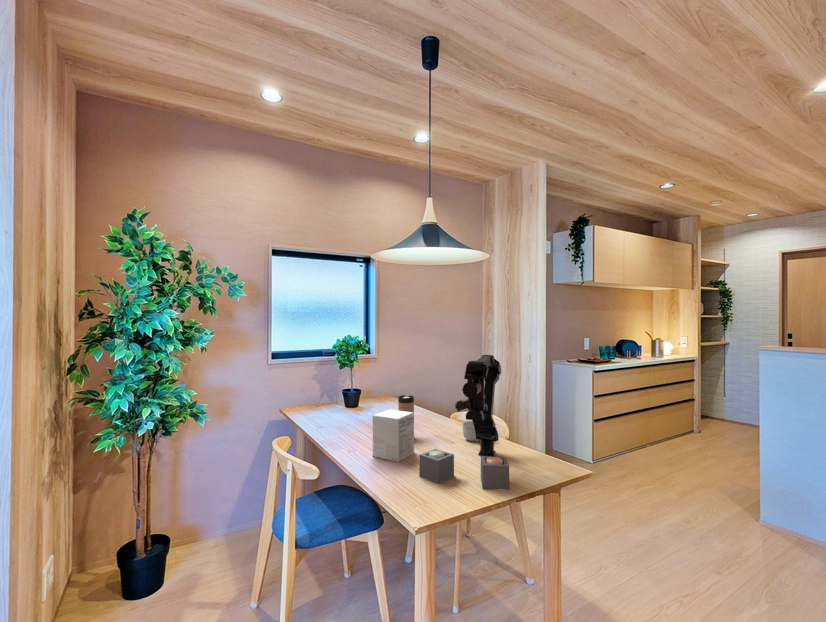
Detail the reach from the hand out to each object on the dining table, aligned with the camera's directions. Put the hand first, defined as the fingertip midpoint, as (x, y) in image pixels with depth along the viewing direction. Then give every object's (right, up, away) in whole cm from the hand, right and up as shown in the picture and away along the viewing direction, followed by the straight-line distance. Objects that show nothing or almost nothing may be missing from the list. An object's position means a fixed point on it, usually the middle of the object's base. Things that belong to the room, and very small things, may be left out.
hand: (477, 433), depth 160 cm
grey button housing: (-16, -13, -10) cm, 23 cm away
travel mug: (-28, -14, +38) cm, 49 cm away
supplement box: (-33, -14, +14) cm, 39 cm away
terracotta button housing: (+3, -13, -17) cm, 21 cm away
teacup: (+5, -14, +36) cm, 39 cm away
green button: (-16, -8, -10) cm, 21 cm away
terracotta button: (+3, -7, -17) cm, 19 cm away
